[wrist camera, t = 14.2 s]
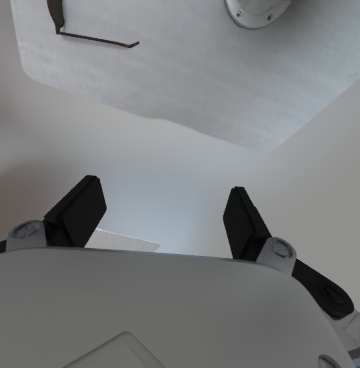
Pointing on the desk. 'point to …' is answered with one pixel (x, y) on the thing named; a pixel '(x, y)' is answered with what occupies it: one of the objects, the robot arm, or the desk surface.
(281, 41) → the desk surface
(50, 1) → the eyeglasses
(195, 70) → the desk surface
